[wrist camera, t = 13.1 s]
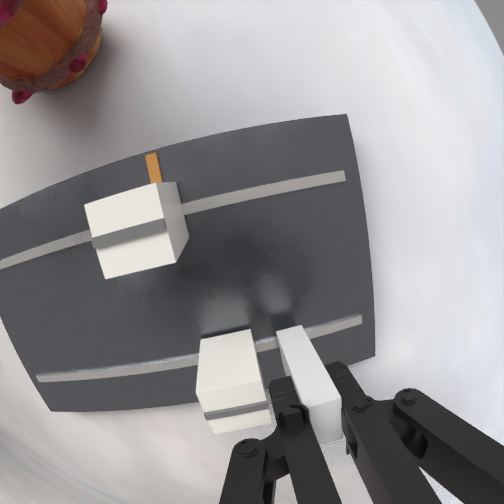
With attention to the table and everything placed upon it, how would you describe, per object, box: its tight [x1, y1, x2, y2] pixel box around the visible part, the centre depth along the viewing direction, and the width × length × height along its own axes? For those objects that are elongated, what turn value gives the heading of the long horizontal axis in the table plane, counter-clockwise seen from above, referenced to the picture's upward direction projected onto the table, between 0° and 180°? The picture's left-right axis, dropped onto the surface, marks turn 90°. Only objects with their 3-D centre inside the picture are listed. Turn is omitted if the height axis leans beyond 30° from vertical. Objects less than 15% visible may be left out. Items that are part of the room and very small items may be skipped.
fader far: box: [196, 329, 273, 434], centre depth 15 cm, size 3×3×5 cm
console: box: [0, 114, 375, 412], centre depth 17 cm, size 26×16×2 cm, turn 102°
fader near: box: [84, 182, 189, 279], centre depth 13 cm, size 3×3×5 cm
